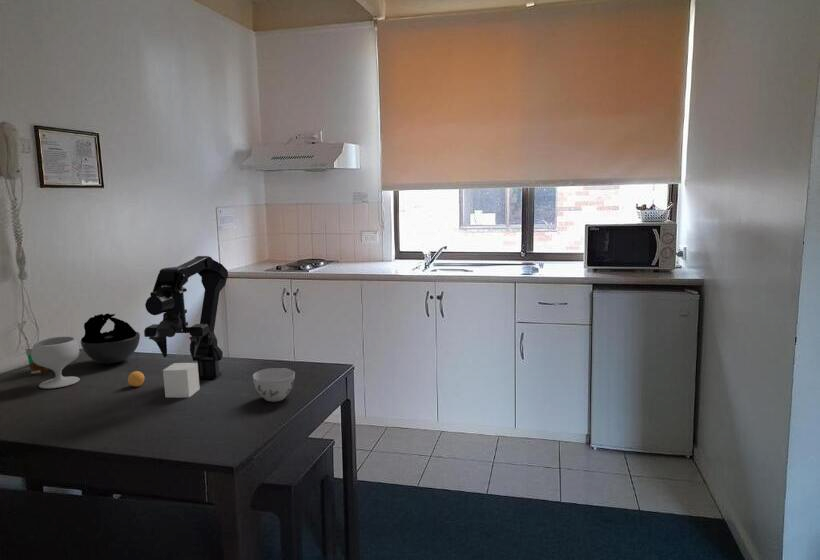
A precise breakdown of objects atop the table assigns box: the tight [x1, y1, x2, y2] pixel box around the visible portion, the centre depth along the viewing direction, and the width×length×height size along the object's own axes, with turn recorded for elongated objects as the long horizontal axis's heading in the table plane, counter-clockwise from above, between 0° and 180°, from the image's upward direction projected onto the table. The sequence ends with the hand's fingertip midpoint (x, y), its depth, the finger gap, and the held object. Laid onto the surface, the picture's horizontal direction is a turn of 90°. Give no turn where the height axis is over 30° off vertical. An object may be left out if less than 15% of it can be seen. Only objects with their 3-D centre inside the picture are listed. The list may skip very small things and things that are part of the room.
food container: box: [25, 348, 54, 376], centre depth 216 cm, size 12×6×10 cm, turn 179°
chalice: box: [31, 336, 81, 389], centre depth 201 cm, size 14×14×15 cm
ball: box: [127, 370, 145, 388], centre depth 196 cm, size 5×5×5 cm
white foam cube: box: [162, 362, 201, 398], centre depth 188 cm, size 8×8×9 cm
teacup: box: [252, 367, 296, 402], centre depth 182 cm, size 15×12×8 cm
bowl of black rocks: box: [80, 313, 141, 365], centre depth 224 cm, size 20×20×19 cm
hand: (179, 356), depth 187 cm, fingers open, 9 cm apart
